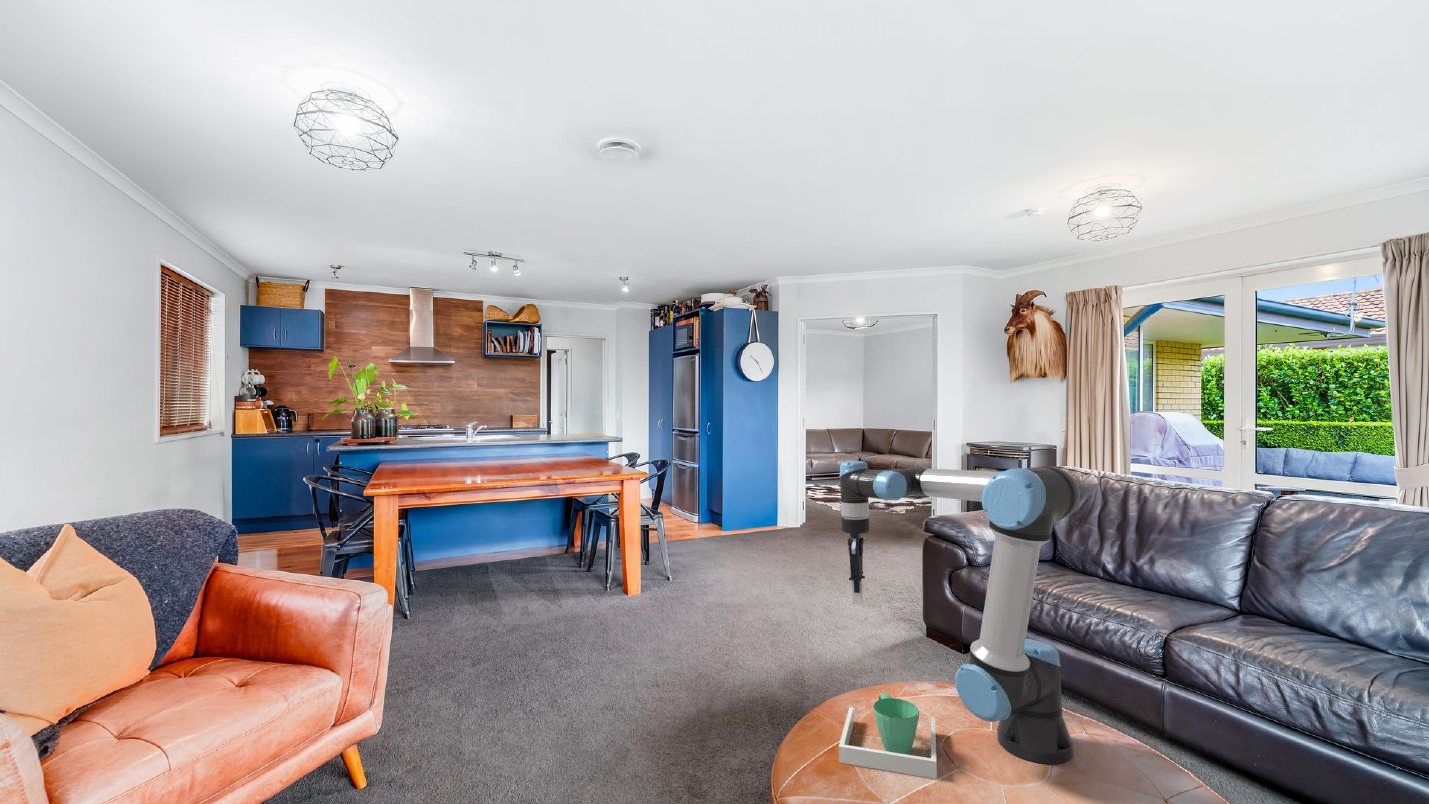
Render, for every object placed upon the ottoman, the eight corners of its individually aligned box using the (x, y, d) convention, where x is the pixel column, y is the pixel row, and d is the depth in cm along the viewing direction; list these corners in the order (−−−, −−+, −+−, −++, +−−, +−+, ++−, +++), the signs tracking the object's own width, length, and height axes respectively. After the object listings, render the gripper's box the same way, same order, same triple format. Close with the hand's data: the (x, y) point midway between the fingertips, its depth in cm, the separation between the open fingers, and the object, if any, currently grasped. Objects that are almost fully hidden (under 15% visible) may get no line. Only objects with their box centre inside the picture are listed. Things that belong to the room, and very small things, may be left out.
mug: (927, 765, 127) (925, 717, 128) (882, 766, 127) (881, 719, 127) (903, 730, 142) (902, 687, 142) (863, 731, 142) (861, 689, 142)
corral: (935, 733, 140) (935, 718, 140) (936, 779, 122) (936, 761, 122) (849, 721, 147) (849, 706, 147) (839, 762, 129) (838, 746, 129)
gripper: (844, 513, 171) (847, 596, 170) (838, 520, 159) (840, 609, 158) (871, 514, 168) (873, 598, 167) (866, 521, 156) (869, 611, 155)
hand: (857, 603), depth 163 cm, fingers closed
